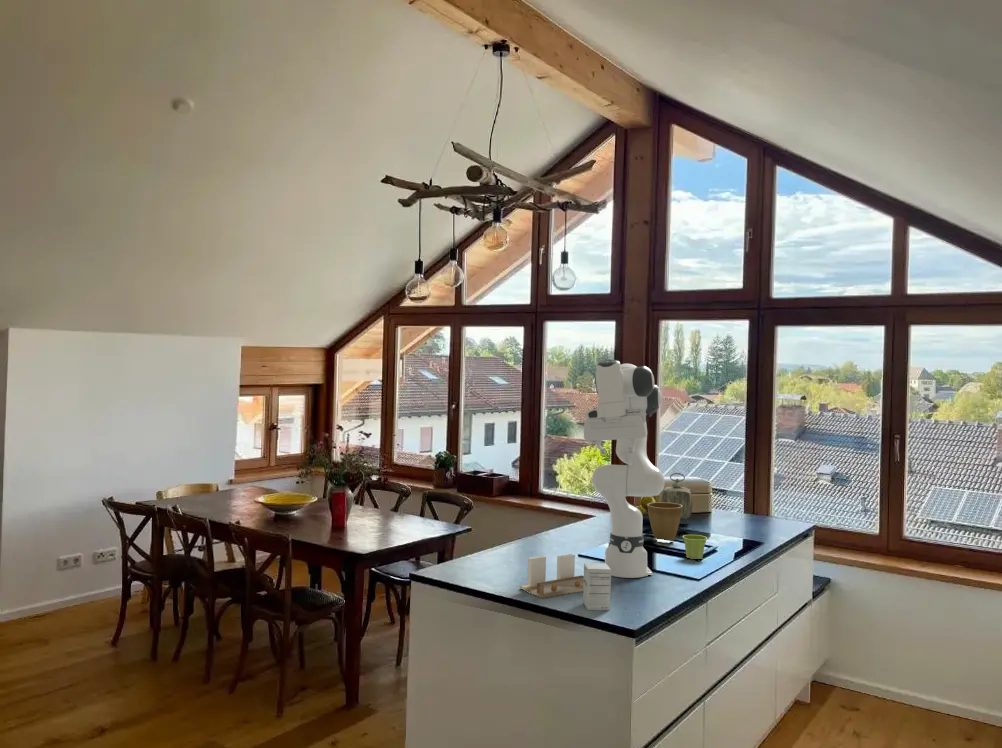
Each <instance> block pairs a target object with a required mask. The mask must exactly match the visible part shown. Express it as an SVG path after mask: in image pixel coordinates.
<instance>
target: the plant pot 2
mask: <svg viewBox="0 0 1002 748" xmlns="http://www.w3.org/2000/svg"><path fill="white" fill-rule="evenodd" d="M682 538H683V541H684V548H685V555H686V556H685V557H687V558H690V559H702V560H703V557H704V551H705V546H706V543H707V540H708V537H707V536H704V535H699V534H685V535H684V534H683V535H682ZM687 558H686V559H687ZM690 559H689V560H690Z"/></svg>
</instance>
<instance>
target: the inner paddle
mask: <svg viewBox="0 0 1002 748" xmlns="http://www.w3.org/2000/svg"><path fill="white" fill-rule="evenodd" d="M575 558H576V555H575V554H572V553H570V554H563V555H558V556H556V559H557V560H556V580H558V579H564V578H570V577H575V568H576V567H575V565H576V564H575V562H576V560H575Z"/></svg>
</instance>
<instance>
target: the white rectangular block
mask: <svg viewBox="0 0 1002 748" xmlns="http://www.w3.org/2000/svg"><path fill="white" fill-rule="evenodd" d="M546 567H547V557H546V556H544V555H540V556H539V555H537V556H531V557H527V577H526V578H527V584H526V585H528V586H531V587H532V586H537V583H540V582H546V572H547V569H546Z"/></svg>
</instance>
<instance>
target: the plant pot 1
mask: <svg viewBox="0 0 1002 748" xmlns="http://www.w3.org/2000/svg"><path fill="white" fill-rule="evenodd" d="M646 506H647V512H648V513H647V514H648V517H649V523H650V527H651V531H652V533H653V537H654V539H655V538H657V539H664V540H675V538H676V536H677V533H678V529H679V526H680V521H681V519H682V518H681V512H682V505H680V504H676V503H665V502H662V501H661V502H657V501H656V502H649V503H647V505H646Z"/></svg>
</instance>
